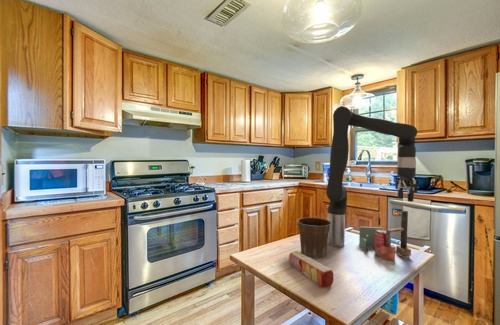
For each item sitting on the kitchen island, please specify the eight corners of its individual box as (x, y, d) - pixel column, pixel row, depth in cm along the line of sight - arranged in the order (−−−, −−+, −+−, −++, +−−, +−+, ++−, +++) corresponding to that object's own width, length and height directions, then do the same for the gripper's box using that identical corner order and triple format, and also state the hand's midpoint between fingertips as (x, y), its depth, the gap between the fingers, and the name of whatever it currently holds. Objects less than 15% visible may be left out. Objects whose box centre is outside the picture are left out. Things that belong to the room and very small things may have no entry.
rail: (403, 258, 113) (403, 256, 113) (387, 246, 128) (387, 244, 128) (409, 258, 113) (409, 256, 113) (393, 246, 128) (393, 244, 128)
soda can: (388, 253, 118) (389, 229, 118) (392, 259, 112) (392, 234, 112) (372, 251, 121) (373, 228, 121) (375, 256, 114) (376, 232, 114)
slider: (381, 259, 111) (382, 213, 110) (373, 252, 119) (374, 209, 119) (415, 261, 109) (416, 214, 109) (404, 253, 118) (406, 210, 117)
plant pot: (290, 253, 117) (290, 221, 116) (306, 244, 129) (306, 215, 128) (321, 263, 106) (322, 228, 105) (335, 253, 118) (336, 221, 117)
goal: (366, 251, 121) (366, 232, 121) (359, 244, 130) (359, 226, 130) (390, 252, 120) (391, 233, 120) (381, 245, 129) (382, 227, 129)
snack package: (287, 265, 104) (287, 250, 104) (299, 263, 107) (299, 248, 106) (321, 290, 85) (321, 272, 84) (334, 286, 87) (335, 268, 87)
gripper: (390, 165, 122) (389, 197, 122) (406, 167, 108) (405, 202, 108) (406, 166, 121) (405, 197, 122) (424, 167, 107) (422, 202, 107)
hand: (405, 199), depth 115 cm, fingers open, 8 cm apart
